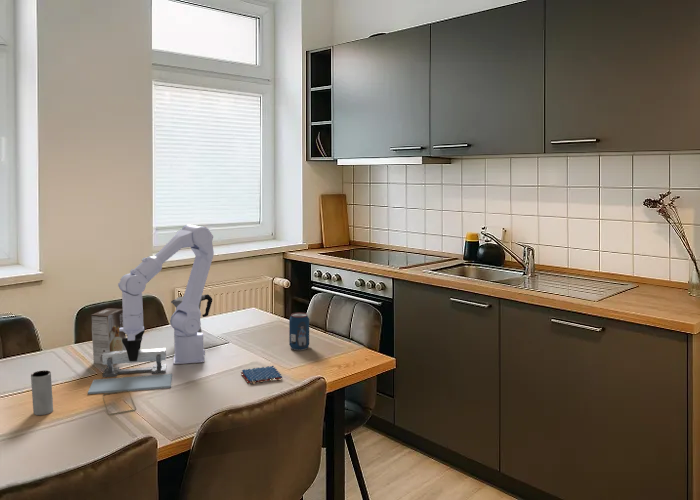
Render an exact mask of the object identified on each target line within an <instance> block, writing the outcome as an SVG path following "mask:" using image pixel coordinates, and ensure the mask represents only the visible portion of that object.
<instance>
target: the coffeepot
mask: <svg viewBox="0 0 700 500" xmlns="http://www.w3.org/2000/svg"><path fill="white" fill-rule="evenodd" d="M183 297H184V295H182V296H179V297H176V299H173V300H171V301H170V303H171V304H172V305H173V306H174V307H175V309H176V308H177V306H178V305H179V304H180V303H182V300H183ZM205 300H207V302H206V307H205V311H204V312H205V313H204V314H201V316H202V318H205V317H208V316H209V314H210V310H211V307H212V304H213V303H212V302H213V298H212V297H211V295H209V294H202V297H201V300H200V303H199V309H200V310H201V306H202V301H205ZM198 333H203V332H202V327H201V326H200V329H199V331H198Z"/></svg>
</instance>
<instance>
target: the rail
mask: <svg viewBox="0 0 700 500" xmlns="http://www.w3.org/2000/svg"><path fill="white" fill-rule="evenodd" d="M166 348H167V347H162V348H161V347H159V348H143V349H140V350H139V351H138V358H137V361H129V358H128V354H127V350H126V351H110V352H103V354H102V359H103V364H102V365H107V359H112V364H113V365H115V364H116V365H117V364H130V363H131V364H132V363H147V362H156V356H160V358H161V362H162V361H166V360H167V359H166V358H167V351H166Z"/></svg>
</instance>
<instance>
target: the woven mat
mask: <svg viewBox="0 0 700 500" xmlns="http://www.w3.org/2000/svg"><path fill="white" fill-rule="evenodd" d="M240 374H241V377H244V379H245V382H246V381H248V382H246V383H247V384H248V383H251V384H252V383H253V384H252V385H256V384H257V383H256V382H258V383H260V382H263V381H266V382H267V381H269V380H270V379H271V380H273V379H274V378H275V379H277V380H278V379H281V378H282V379H283V376H282V374H281V372H279V370H278V369H277V368H276V367H274V365H269V366H265V367H264V366H262V367H256V368H255V367H254V368H246V369H242V370H241V372H240ZM242 374H243V375H242ZM282 379H281V380H282ZM255 381H256V382H255ZM255 383H256V384H255Z"/></svg>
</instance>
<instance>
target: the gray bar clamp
mask: <svg viewBox="0 0 700 500" xmlns="http://www.w3.org/2000/svg"><path fill="white" fill-rule="evenodd" d="M167 366H168V365H167V363H163V364H162V361H161V358H160V356H156V361H155V364H153V365H152V367H134V368H123V369H121V368H120V367H114V364H112V359H107V364H106V368H104V370H103V372H102V378H118V375H124V374H125V375H128V374H139V373H151V375H159V374H166V373H167Z"/></svg>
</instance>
